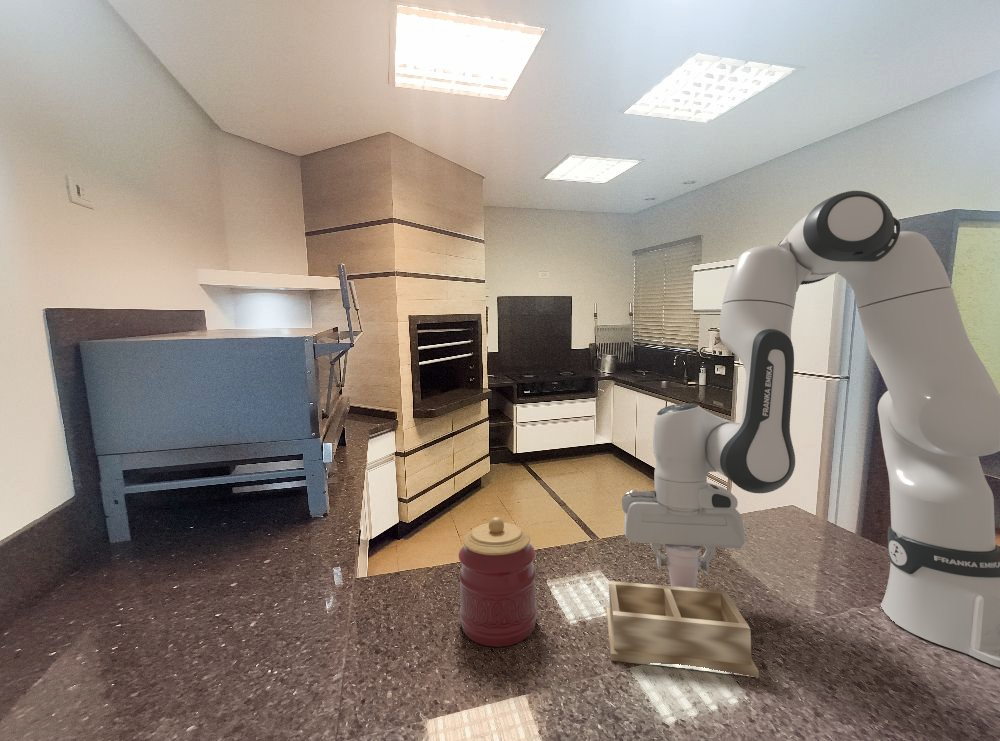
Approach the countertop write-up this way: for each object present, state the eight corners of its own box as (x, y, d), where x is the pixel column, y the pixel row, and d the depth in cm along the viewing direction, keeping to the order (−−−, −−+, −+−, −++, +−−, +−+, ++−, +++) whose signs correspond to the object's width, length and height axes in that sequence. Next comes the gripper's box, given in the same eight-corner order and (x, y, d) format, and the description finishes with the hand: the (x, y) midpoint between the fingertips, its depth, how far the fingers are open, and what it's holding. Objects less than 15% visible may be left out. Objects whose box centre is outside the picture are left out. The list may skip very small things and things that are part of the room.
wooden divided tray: (727, 624, 64) (726, 587, 64) (759, 678, 53) (757, 633, 53) (606, 612, 68) (605, 577, 68) (611, 660, 57) (610, 618, 57)
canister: (462, 654, 59) (459, 536, 59) (458, 604, 72) (455, 507, 72) (546, 643, 61) (543, 529, 61) (527, 596, 74) (525, 502, 74)
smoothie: (707, 608, 68) (705, 528, 69) (668, 605, 70) (666, 526, 70) (697, 588, 75) (694, 515, 75) (661, 586, 76) (659, 513, 76)
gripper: (623, 495, 71) (625, 571, 71) (747, 499, 67) (750, 580, 67) (620, 485, 78) (622, 555, 78) (733, 489, 73) (736, 563, 73)
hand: (682, 567), depth 72 cm, fingers open, 6 cm apart
